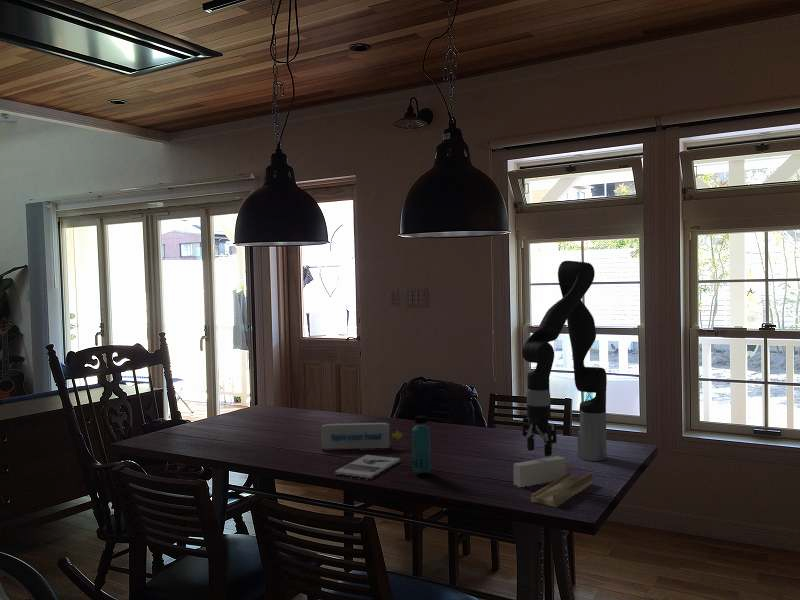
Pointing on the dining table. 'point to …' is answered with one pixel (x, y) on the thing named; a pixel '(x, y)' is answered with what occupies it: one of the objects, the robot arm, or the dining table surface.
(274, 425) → the dining table surface
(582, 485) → the wooden grooved tray
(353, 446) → the decorative sign
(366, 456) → the book
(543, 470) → the white rectangular block
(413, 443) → the beverage bottle
